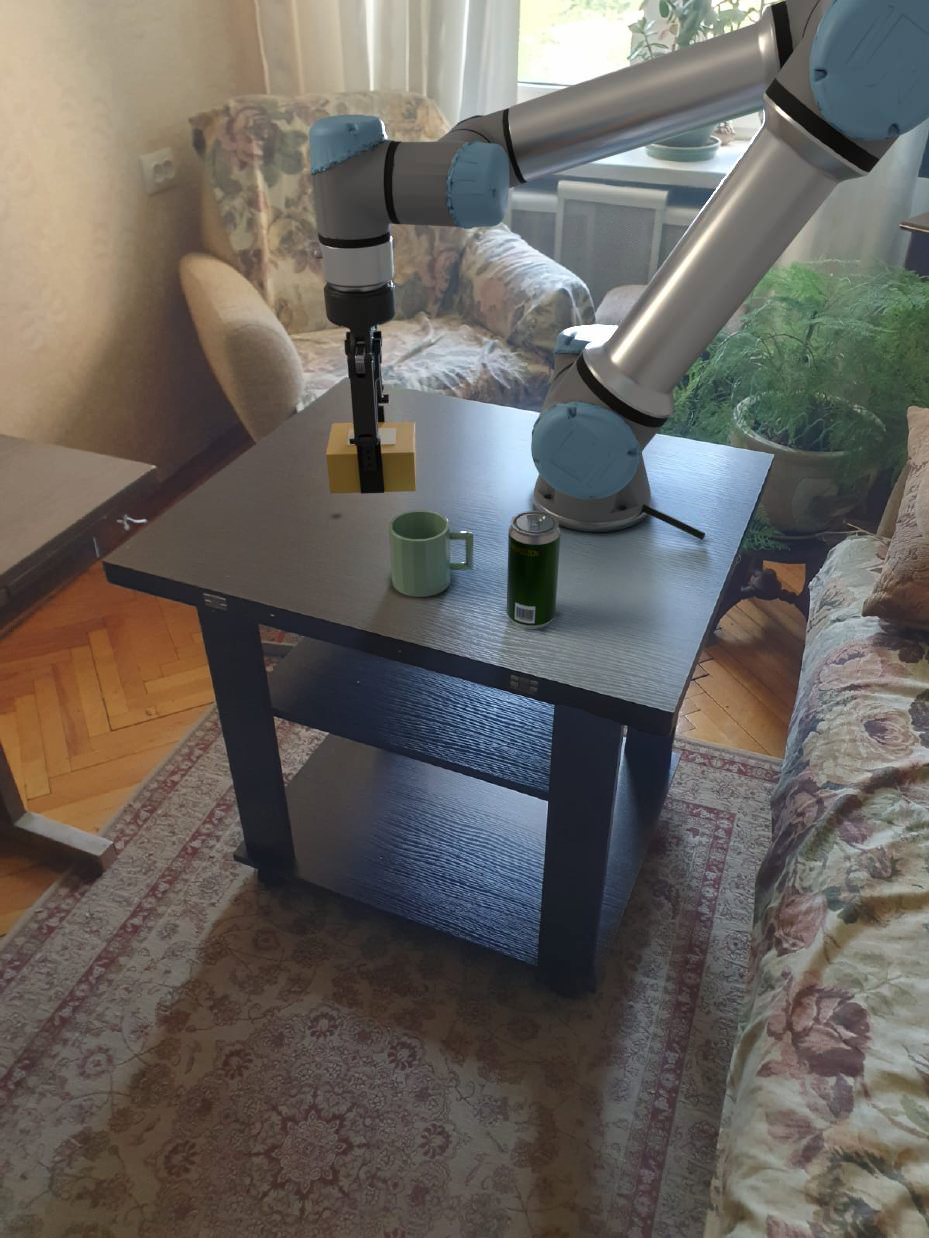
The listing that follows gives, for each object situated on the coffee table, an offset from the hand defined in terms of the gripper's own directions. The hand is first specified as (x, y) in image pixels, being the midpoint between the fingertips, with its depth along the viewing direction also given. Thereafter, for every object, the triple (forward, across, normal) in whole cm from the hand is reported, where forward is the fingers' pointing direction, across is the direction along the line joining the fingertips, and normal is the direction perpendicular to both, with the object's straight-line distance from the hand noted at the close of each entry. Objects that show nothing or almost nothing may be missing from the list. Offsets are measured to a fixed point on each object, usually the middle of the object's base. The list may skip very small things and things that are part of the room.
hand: (374, 473), depth 112 cm
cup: (+9, +11, +7) cm, 15 cm away
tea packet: (0, 0, 0) cm, 0 cm away
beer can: (+9, +18, +17) cm, 27 cm away
